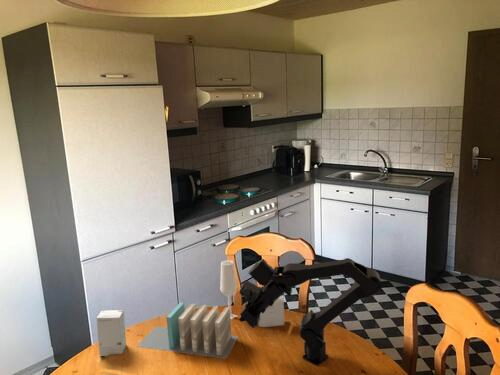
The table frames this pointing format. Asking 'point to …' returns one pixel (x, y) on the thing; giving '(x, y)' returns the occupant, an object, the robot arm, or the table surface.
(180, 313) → the domino
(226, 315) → the domino
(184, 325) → the domino
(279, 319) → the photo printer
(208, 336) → the domino
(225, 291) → the champagne flute
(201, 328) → the domino
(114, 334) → the skincare box
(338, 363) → the table surface
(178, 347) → the domino board
